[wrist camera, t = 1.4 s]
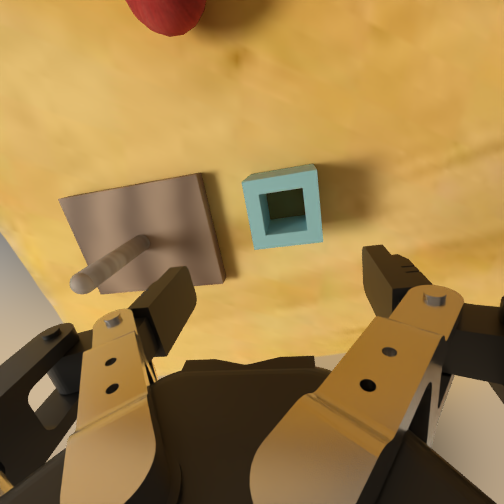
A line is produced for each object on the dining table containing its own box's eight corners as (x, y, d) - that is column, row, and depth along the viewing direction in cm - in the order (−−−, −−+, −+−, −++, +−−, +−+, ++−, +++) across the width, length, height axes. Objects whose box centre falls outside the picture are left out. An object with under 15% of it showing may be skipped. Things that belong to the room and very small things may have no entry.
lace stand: (200, 172, 27) (142, 195, 17) (226, 277, 31) (192, 346, 21) (68, 196, 30) (-50, 227, 20) (108, 288, 35) (28, 352, 24)
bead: (312, 163, 25) (316, 169, 21) (318, 224, 27) (323, 242, 23) (250, 174, 26) (241, 182, 22) (260, 231, 29) (254, 249, 24)
